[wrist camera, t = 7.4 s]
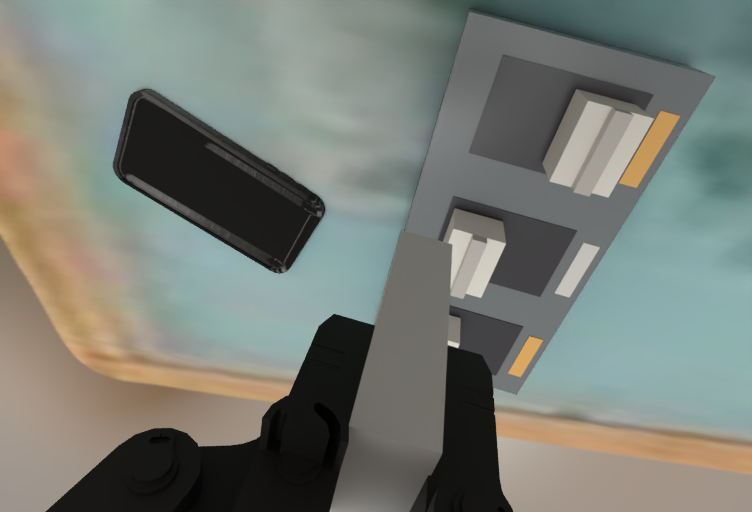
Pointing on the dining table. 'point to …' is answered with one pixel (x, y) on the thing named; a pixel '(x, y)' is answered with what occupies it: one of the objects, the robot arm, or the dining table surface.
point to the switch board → (536, 173)
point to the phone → (214, 182)
